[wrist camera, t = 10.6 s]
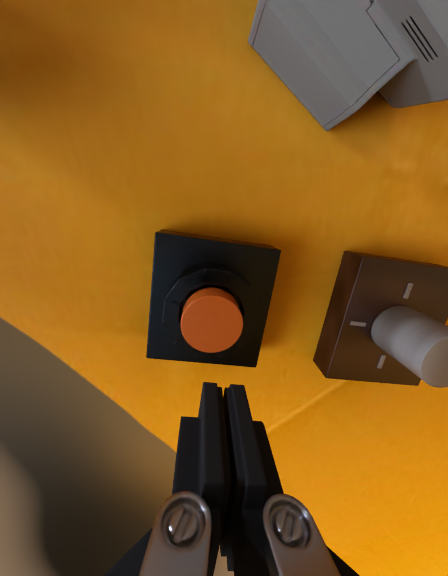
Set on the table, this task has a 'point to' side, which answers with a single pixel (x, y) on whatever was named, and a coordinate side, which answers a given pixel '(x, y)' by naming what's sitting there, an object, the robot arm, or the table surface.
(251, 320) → the button box
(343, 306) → the dial panel
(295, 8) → the digital clock
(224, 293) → the button
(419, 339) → the dial
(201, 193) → the table surface
